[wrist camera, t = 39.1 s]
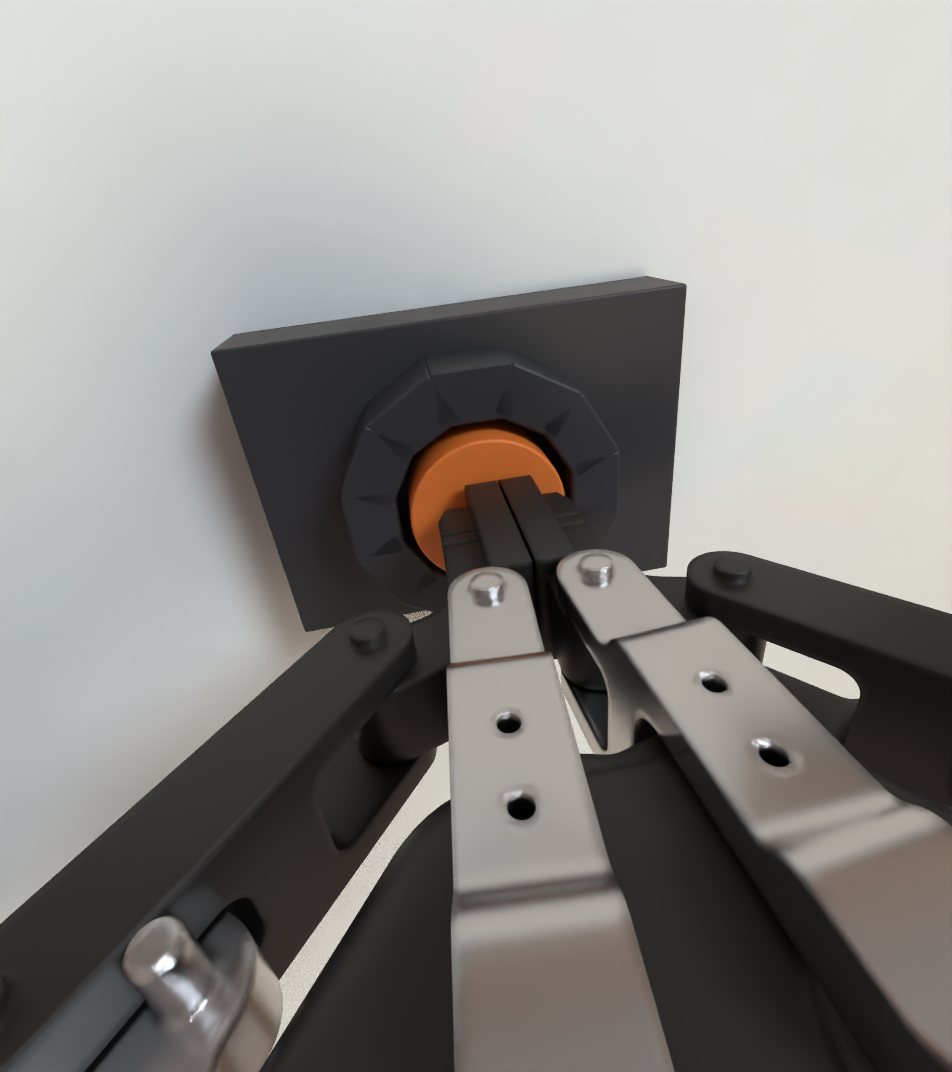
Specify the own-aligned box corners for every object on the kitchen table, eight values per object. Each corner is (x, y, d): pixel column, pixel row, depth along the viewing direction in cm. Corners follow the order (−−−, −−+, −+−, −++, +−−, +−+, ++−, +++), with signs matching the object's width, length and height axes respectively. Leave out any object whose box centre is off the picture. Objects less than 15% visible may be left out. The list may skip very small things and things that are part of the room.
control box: (312, 590, 18) (296, 676, 15) (232, 334, 14) (183, 369, 11) (638, 533, 19) (695, 601, 16) (648, 276, 15) (729, 291, 12)
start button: (419, 556, 15) (423, 592, 14) (395, 427, 13) (397, 454, 12) (549, 533, 15) (568, 566, 14) (543, 404, 14) (564, 427, 12)
